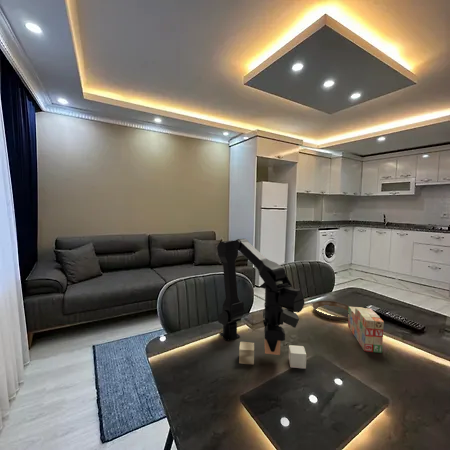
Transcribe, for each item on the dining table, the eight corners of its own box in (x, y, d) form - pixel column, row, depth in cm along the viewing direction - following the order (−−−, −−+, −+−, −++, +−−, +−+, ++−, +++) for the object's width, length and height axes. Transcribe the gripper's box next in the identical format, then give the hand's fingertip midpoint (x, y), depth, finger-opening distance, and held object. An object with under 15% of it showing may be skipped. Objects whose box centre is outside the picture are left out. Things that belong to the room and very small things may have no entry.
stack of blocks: (347, 326, 115) (348, 299, 115) (362, 327, 114) (363, 300, 113) (364, 351, 94) (365, 319, 94) (382, 353, 93) (384, 321, 92)
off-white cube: (290, 367, 84) (290, 353, 84) (288, 358, 89) (288, 345, 89) (305, 368, 83) (306, 354, 83) (303, 359, 88) (303, 346, 88)
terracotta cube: (265, 353, 85) (265, 339, 84) (264, 345, 90) (264, 332, 89) (280, 354, 84) (280, 340, 84) (278, 346, 89) (279, 333, 89)
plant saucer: (364, 323, 118) (365, 316, 118) (320, 322, 119) (320, 315, 119) (344, 306, 139) (344, 300, 139) (307, 306, 139) (307, 300, 139)
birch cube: (239, 363, 86) (239, 349, 86) (239, 355, 91) (240, 341, 90) (253, 364, 85) (254, 350, 85) (253, 356, 90) (254, 342, 90)
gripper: (302, 315, 76) (301, 365, 77) (293, 295, 94) (292, 335, 95) (265, 313, 77) (264, 362, 78) (263, 293, 95) (262, 333, 96)
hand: (272, 347), depth 87 cm, fingers closed on terracotta cube, 5 cm apart
